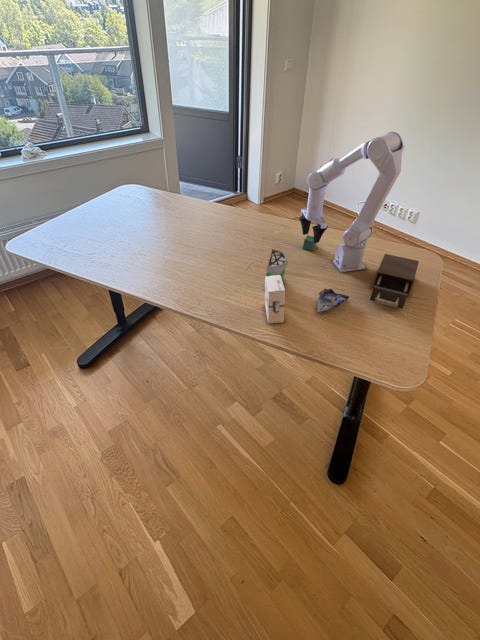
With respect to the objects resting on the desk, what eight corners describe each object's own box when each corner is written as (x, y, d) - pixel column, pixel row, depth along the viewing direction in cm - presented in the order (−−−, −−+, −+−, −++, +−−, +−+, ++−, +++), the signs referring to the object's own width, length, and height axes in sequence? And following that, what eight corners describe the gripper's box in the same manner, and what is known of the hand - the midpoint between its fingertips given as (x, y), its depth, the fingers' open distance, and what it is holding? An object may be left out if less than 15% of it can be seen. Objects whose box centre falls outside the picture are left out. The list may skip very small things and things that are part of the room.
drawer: (400, 317, 104) (405, 304, 101) (366, 308, 107) (370, 295, 104) (408, 288, 115) (412, 275, 112) (377, 280, 119) (381, 268, 115)
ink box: (263, 306, 110) (264, 275, 102) (279, 305, 110) (281, 274, 103) (267, 324, 104) (269, 292, 96) (283, 323, 104) (286, 291, 96)
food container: (283, 294, 115) (286, 269, 108) (265, 292, 116) (266, 267, 109) (287, 274, 124) (289, 249, 117) (270, 272, 125) (271, 248, 118)
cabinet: (407, 297, 113) (413, 280, 108) (372, 288, 117) (377, 271, 112) (412, 277, 121) (419, 261, 117) (380, 269, 125) (384, 253, 121)
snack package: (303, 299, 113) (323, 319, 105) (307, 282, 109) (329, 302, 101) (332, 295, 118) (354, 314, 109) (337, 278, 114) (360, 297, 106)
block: (312, 250, 136) (314, 241, 134) (303, 248, 138) (304, 239, 135) (315, 246, 139) (317, 237, 136) (306, 244, 140) (307, 235, 138)
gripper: (336, 209, 123) (330, 244, 132) (313, 195, 133) (309, 228, 142) (319, 213, 121) (314, 248, 130) (297, 199, 131) (294, 232, 140)
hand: (310, 238), depth 136 cm, fingers open, 7 cm apart
